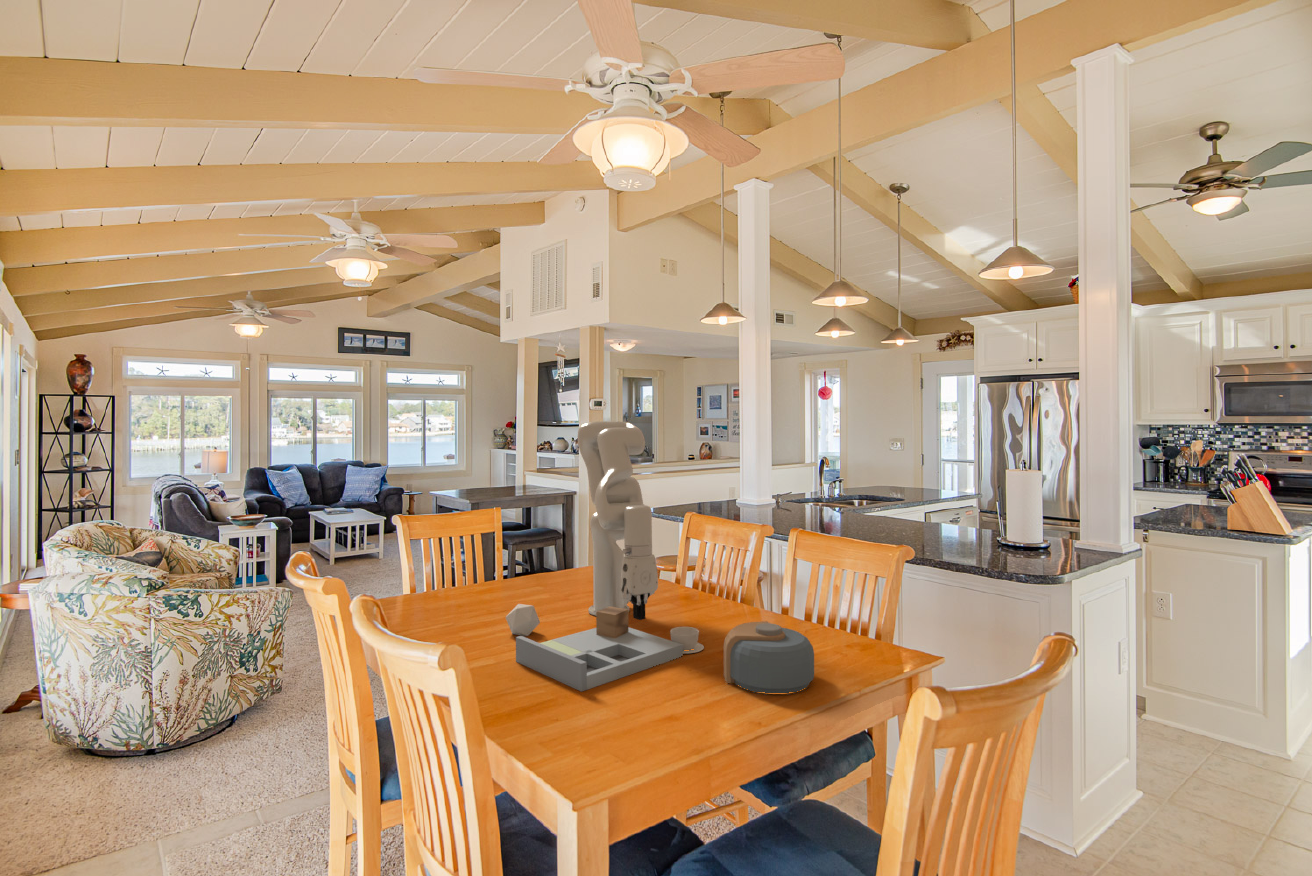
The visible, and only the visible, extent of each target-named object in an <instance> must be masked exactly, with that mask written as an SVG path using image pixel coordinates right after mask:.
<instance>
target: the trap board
mask: <svg viewBox="0 0 1312 876" xmlns="http://www.w3.org/2000/svg"><path fill="white" fill-rule="evenodd" d="M681 656H683V644H680V643H676V642H673V641H672V640H671V639H667V638H663V637H661V636H658V635H654V634H651V633H648V632H645V631H642V630H638V629H635V628H632V627H630V626H628V633H625V634H623V635H621V636H619V637H617V638H612V637H606V636H601V635H596V627H593V628H590V629H586V630H582V631H579V632H575V633H572V634H568V635H564V636H561V637H560V636H559V637H557V638H553V639H550V640H546V641H543V642H538V641H535V640H532V639H530V638H528V637H527V636H523V635H517V636H515V662H516V663H518V664H520V665H523V666H525V667H527V668H530V669H531V670H534V671H535V672H538V673H540V674H542V675H544V676H546V677H548V678H551V679H554V680H555V681H557V682H559V683H561V684H564V685H566V686H568V687H570V688H572V689H575V690H577V691H580V692H584V691H587V690H590V689H592V688H593V689H594V688H596V687H599V686H602V685H605V684H608V683H611V682H614V681H616V680H618V679H622V678H625V677H628V676H630V675H633V674H636V673H639V672H642V671H646V670H648V669H651V668H653V666H654V667H656V665H657V666H660V665H663V664H665V663H668V662H670V660H671V661H673V659H674V660H676V658H677V659H680V658H682V657H681ZM679 657H680V658H679ZM659 664H660V665H659Z"/></svg>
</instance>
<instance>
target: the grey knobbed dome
mask: <svg viewBox="0 0 1312 876" xmlns="http://www.w3.org/2000/svg"><path fill="white" fill-rule="evenodd" d="M814 651H815V650H814V646H813V644H812V643H811V642H810V640H809V638H808V636H805V635H803V633H801V632H800V631H797V630H794V629H790V628H787V627H786V628H785V627H782V626H781V625H779V624H776V623H771V622H769V621H767V620H766V621H750V622H744V623H741V624H738V625H736V626H734V627H733V628H731V629H730V630H728V633H727V635H725V638H724V642H723V678H725V679H724V682H725V681H726V682H725V684H726V683H735V684H734V685H736V686H737V685H739V686H741V687H742V688H745V689H748V690H750V691H754V692H753V693H755V692H765V693H789V692H797V691H800V690H802V689H804V688H806V687H807V686H808V685H809V686H810V684H811V682H812V681H813V680H814V679H815V678H814V677H815V652H814ZM739 686H738V687H739ZM809 686H808V687H809ZM741 687H740V688H741ZM808 687H807V688H808ZM742 688H741V689H742ZM807 688H806V689H807ZM745 689H744V690H745ZM748 690H747V691H748ZM750 691H749V692H750Z"/></svg>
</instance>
